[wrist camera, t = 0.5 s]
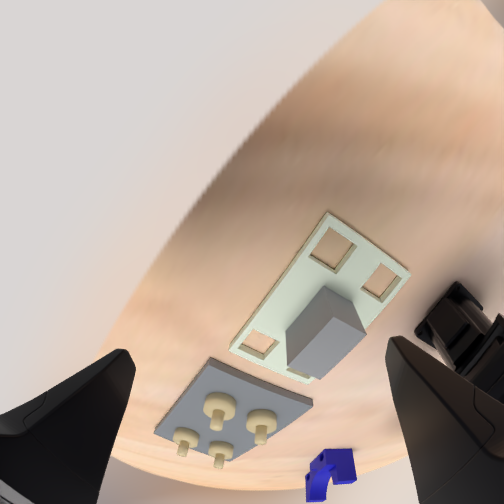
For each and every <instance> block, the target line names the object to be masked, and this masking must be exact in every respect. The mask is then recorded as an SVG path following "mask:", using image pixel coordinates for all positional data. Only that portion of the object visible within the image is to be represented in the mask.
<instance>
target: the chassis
mask: <svg viewBox="0 0 504 504" xmlns="http://www.w3.org/2000/svg"><path fill="white" fill-rule="evenodd" d="M312 407H313V400H312V399H310V398H307V397H304V396H301V395H298V394H296V393H293V392H290V391H287V390H285V389H282V388H280V387H277V386H275V385H272V384H269V383H267V382H265V381H262V380H260V379H257V378H255V377H253V376H250V375H248V374H246V373H243V372H241V371H239V370H236V369H234V368H232V367H230V366H228V365H225V364H223V363H221V362H219V361H217V360H215V359H213V358H210V359H209V360H208V362H207V363H206V364H205V365H204V367H203V368H202V369H201V371H200V372H199V373H198V375H197V376H196V377H195V379H194V380H193V381H192V382H191V384H190V385H189V386H188V388H187V389H186V390H185V391H184V393H183V394H182V395H181V397H180V398H179V399H178V400H177V402H176V403H175V404H174V405H173V407H172V408H171V409H170V411H169V412H168V413H167V414H166V416H165V417H164V418H163V419H162V421H161V422H160V423H159V424H158V426H157V427H156V428H155V431H154V434H156V435H158V436H160V437H163V438H165V439H167V440H170V441H172V442H175V443H176V444H178V445H179V447H178V451H177V455H179V456H182V457H186V456H187V452H188V448H190V449H193V450H195V451H198V452H201V453H204V454H207V455H210V456H211V457H214V458H215V461H214V467H215V468H218V469H222V468H223V464H224V460H226V461H229V462H230V461H232V460H233V459H235V458H237V457H239V456H240V455H242V454H244V453H246V452H247V451H249V450H251V449H252V448H254V447H255V446H257V445H264V444H266V441H267V439H268V438H270V437H271V436H273V435H274V434H276V433H277V432H279V431H280V430H282V429H283V428H285V427H286V426H287V425H289V424H290V423H292V422H293V421H294V420H296V419H297V418H299V417H300V416H301V415H303V414H304V413H305V412H307V411H308V410H309V409H311V408H312Z"/></svg>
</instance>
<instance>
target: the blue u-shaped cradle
mask: <svg viewBox="0 0 504 504" xmlns="http://www.w3.org/2000/svg"><path fill="white" fill-rule="evenodd" d="M330 477H332V480H333V484H334V485H338V484H350V483H353V482H355V481H356V480H357V477H356V471H355V464H354V458H353V452H352V449H324V450H323V451H322V452H321V453H320V454H319V455H318V456H317V457H316V458H315V459H314V460H313V461H312V462H311V463H310V472H309V473H308V474H307V475H306V476H305V480H306V502H323V501H324V500H326V491H327V486H328V482H329V479H330Z"/></svg>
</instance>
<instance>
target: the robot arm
mask: <svg viewBox="0 0 504 504" xmlns="http://www.w3.org/2000/svg"><path fill="white" fill-rule="evenodd" d="M482 311H483V307H482V306H481V305H480V303H479V302H478V301H477V300H476V299H475V298H474V297H473V296H472V295H471V294H470V293H469V292H468V291H467V290H466V288H465V287H464V286H463V285H462V284H461V283H460V282H455V283H454V284H453V285H452V287H451V288H450V289H449V291H448V292H447V293H446V294H445V296H444V297H443V298H442V299H441V301H440V302H439V303H438V304H437V306H436V307H435V308H434V309H433V310H432V312H431V313H430V314H429V315H428V316H427V317H426V319H425V320H424V321H423V322H422V323H421V324H420V325H419V327H418V328H417V329H416V330H415V335H416V337H418V338H419V339H421V340H422V341H424V342H426V343H427V344H429V345H430V346H432V347H434V348H435V349H437V350H438V352H439V354H440V355H441V357H442V359H443V360H444V362H445V363H446V365H447V366H446V365H444V364H443V363H441V362H440V361H438V360H437V359H435V358H434V357H432V356H431V355H430V354H428V353H427V352H425V351H424V350H422V349H421V348H419V347H418V346H416V345H415V344H413V343H412V342H410V341H409V340H407V339H406V338H404V337H403V336H394V337H391V338H389V341H388V346H387V351H386V356H385V362H386V367H387V371H388V376H389V381H390V386H391V392H392V397H393V401H394V405H395V408H396V411H397V415H398V418H399V422H400V425H401V428H402V432H403V436H404V439H405V443H406V447H407V451H408V455H409V459H410V463H411V467H412V471H413V475H414V480H415V485H416V489H417V494H418V500H419V503H420V504H504V316H503V315H502V314H500V313H499V314H498V315H497V317H496V320H495V321H494V323H492V322H491V321H490V320H489V319H488V318H487V316H486V315H485V314H484V313H483V312H482ZM420 331H421V332H420ZM135 372H136V367H135V364H134V362H133V360H132V358H131V356H130V354H129V352H128V351H127V350H126V349H116V350H114V351H112V352H111V353H109V354H107V355H106V356H104V357H102V358H101V359H99V360H97V361H96V362H94V363H93V364H91V365H89V366H88V367H86V368H85V369H83V370H81V371H79V372H78V373H76V374H75V375H73V376H71V377H69V378H68V379H66V380H64V381H63V382H61V383H59V384H58V385H56V386H54V387H53V388H51V389H49V390H48V391H46V392H44V393H43V394H41V395H39V396H38V397H36V398H34V399H33V400H31V401H28V402H26V403H24V404H23V405H21V406H18V407H16V408H14V409H12V410H10V411H8V412H6V413H4V414H1V415H0V504H96V503H97V499H98V496H99V491H100V488H101V484H102V480H103V477H104V474H105V471H106V467H107V464H108V461H109V458H110V454H111V451H112V448H113V445H114V442H115V439H116V436H117V433H118V430H119V427H120V424H121V421H122V418H123V415H124V413H125V410H126V407H127V404H128V400H129V396H130V392H131V388H132V384H133V380H134V376H135Z"/></svg>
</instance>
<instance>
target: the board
mask: <svg viewBox="0 0 504 504" xmlns="http://www.w3.org/2000/svg"><path fill="white" fill-rule="evenodd" d="M329 227H330V228H332V229H333V230H335V231H336V232H338V233H339V234H341V235H342V236H344V237H345V238H346V239H348V240H349V241H351V242H352V243H354V244H353V245H352V247H351V248H350V250H349V251H348V252H347V254H346V255H345V256H344V258H343V259H342V260H341V262H340V263H339V264H338V266H337V267H336V268H335V269H334V270H333V269H332V268H330V267H329V266H327V265H325V264H324V263H322V262H321V261H319V260H317V259H316V258H314V257H313V256H311V255H310V253H311V252H312V251H313V249H314V248H315V246H316V245H317V244H318V242H319V241H320V239H321V238H322V237H323V235H324V234H325V232H326V231H327V229H328V228H329ZM380 263H382V264H383V265H385V266H386V267H387V268H389V269H390V270H391V271H393V272H394V273H396V274H397V275H398V276H397V277H396V278H395V279H394V281H393V282H392V283H391V284H390V286H389V287H388V288H387V289H386V291H385V292H384V293H383V294H382V295H381V297H380V298H378V297H376V296H374V295H373V294H371V293H370V292H368V291H367V290H365V289H364V288H362V286H363V285H364V284H365V282H366V281H367V280H368V279H369V277H370V276H371V275H372V274H373V272H374V271H375V270H376V268H377V267H378V266H379V265H380ZM410 276H411V274H410V272H409V271H408V270H407V269H405V268H404V267H403V266H401V265H400V264H399V263H398V262H396V261H395V260H394V259H392V258H391V257H390V256H388V255H387V254H386V253H384V252H383V251H382V250H380V249H379V248H378V247H376V246H375V245H374V244H372V243H371V242H370V241H368V240H367V239H366V238H364V237H363V236H361V235H360V234H359V233H357V232H356V231H354V230H353V229H352V228H350V227H349V226H347V225H346V224H344V223H343V222H341V221H340V220H339V219H337V218H336V217H334V216H333V215H331V214H330V213H328V212H326V214H325V215H324V217H323V218H322V220H321V221H320V223H319V224H318V225H317V227H316V228H315V230H314V231H313V233H312V234H311V235H310V237H309V238H308V240H307V241H306V243H305V244H304V245H303V247H302V248H301V250H300V251H299V252H298V254H297V255H296V257H295V258H294V259H293V261H292V262H291V264H290V265H289V266H288V268H287V269H286V271H285V272H284V273H283V275H282V276H281V277H280V279H279V280H278V281H277V283H276V284H275V286H274V287H273V288H272V290H271V291H270V292H269V294H268V295H267V296H266V298H265V299H264V300H263V302H262V303H261V304H260V306H259V307H258V308H257V310H256V311H255V312H254V314H253V315H252V316H251V318H250V319H249V320H248V322H247V323H246V324H245V326H244V327H243V328H242V329H241V331H240V332H239V333H238V335H237V336H236V337H235V339H234V340H233V341H232V342H231V344H230V345H229V350H228V351H230V352H232V353H234V354H236V355H238V356H241V357H243V358H245V359H247V360H249V361H251V362H254V363H256V364H258V365H260V366H263V367H265V368H267V369H270V370H272V371H274V372H277V373H279V374H282V375H284V376H286V377H289V378H291V379H294V380H296V381H299V382H302V383H304V384H307V385H308V384H309V383H311V382H312V381H313V380H314V379H315V378H317V379H321V378H323V377H324V376H325V375H326V374H327V373H328V372H329V371H330V370H331V369H332V368H333V367H335V366H336V365H337V364H338V363H339V362H340V361H341V360H342V359H343V358H344V357H345V356H346V355H347V354H348V353H349V352H350V351H351V350H352V349H353V348H354V347H355V346H356V345H357V344H358V343H359V342H360V341H361V340H362V339H363V338H364V337H365V336H366V335H367V334H366V332H365V329H366V328H367V327H368V326H369V325H370V323H371V322H372V321H373V320H374V319H375V318H376V317H377V316H378V315H379V313H380V312H381V311H382V310H383V309H384V308H385V307H386V305H387V304H388V303H389V302H390V301H391V299H392V298H393V297H394V296H395V295H396V293H397V292H398V291H399V290H400V289H401V287H402V286H403V285H404V284H405V282H406V281H407V280H408V279H409V277H410ZM253 329H254V330H256V331H258V332H260V333H262V334H264V335H266V336H268V337H270V338H273V339H275V340H276V341H275V342H274V343H273V344H272V346H271V347H270V348H269V349H268V350H267V351H266V352H265V353H264V354H262V353H260V352H257V351H255V350H253V349H251V348H249V347H247V346H245V345H243V344H241V343H242V342H243V341H244V340H245V338H246V337H247V336H248V335H249V333H250V332H251V331H252V330H253Z"/></svg>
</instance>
